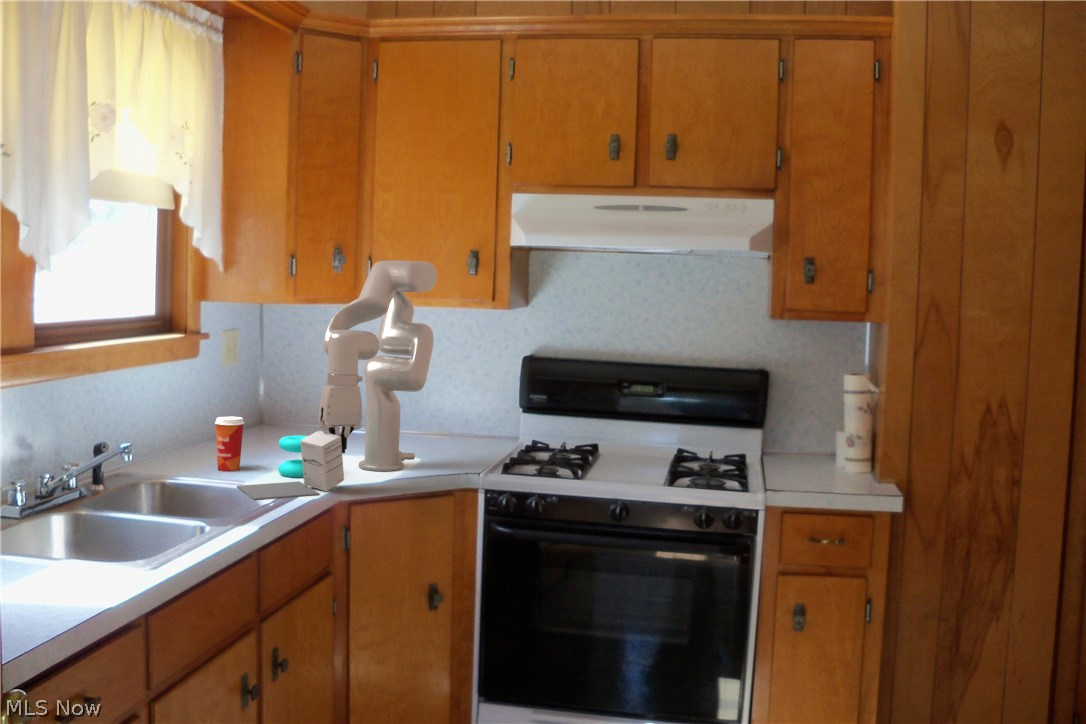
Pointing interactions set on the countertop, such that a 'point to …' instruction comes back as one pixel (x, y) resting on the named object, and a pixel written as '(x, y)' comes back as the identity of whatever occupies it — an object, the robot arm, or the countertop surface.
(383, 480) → the countertop surface
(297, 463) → the donuts
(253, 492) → the mat
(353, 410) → the robot arm
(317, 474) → the supplement box
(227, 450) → the paper cup
